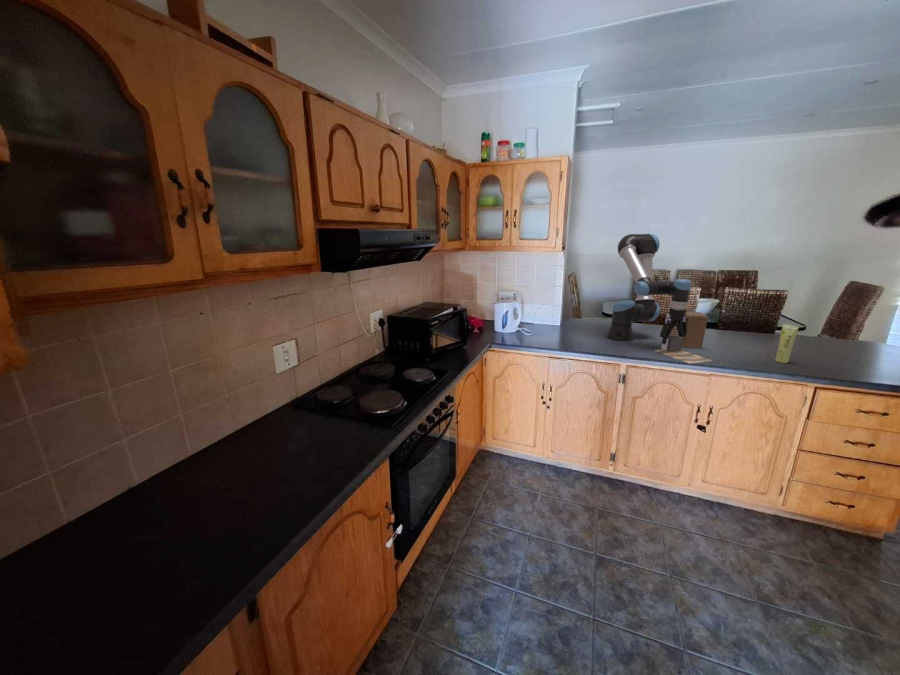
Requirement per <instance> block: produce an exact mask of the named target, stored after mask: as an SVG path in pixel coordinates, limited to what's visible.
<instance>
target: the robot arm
mask: <svg viewBox="0 0 900 675" xmlns="http://www.w3.org/2000/svg"><path fill="white" fill-rule="evenodd" d="M659 250H660V239H659V238H658V236H657V235H656V234H654V233H652V234H651V233H637V234H635V233H634V234H633V233H629V234H627V235H625V236H623V237H622V238H621V239H620V241H619V242H618V245H617V253H618V254H619V257H620V258H622V259H623V261H624V262H625V265H626V266H627V269H628V270H629V272H630V274H631V276H632V279H633V280H634V282H635V284H634V285H633V289H634V290H633V291H634V293H635V294H636V298H635V299H634V300H628V299H627V300H619V301H616V302H614V304H613V308H612V314H611V322H610V326H609V328H608V330H607V331H606V337H607V338H608V339H610V340H614V341H618V342H619V341H622V342H625V341H626V342H627V341H628V342H629V341H632V340H633V339H634V334H633V329H632V325H633V322H636V323H637V322H644V323H645V322H647V323H648V322H653V321H655V320H657V318H658V317H659V315H660V311H661V307H660V304H659V303H658V302H656V298H654V297H653V296H671V298H670V299H671V300H670V306H669V307H670V309H669V311H668V314H669V315H670V318H669V319H668V320H667V319H666V318H665V319H664V321H663V326H662V328H661V330H660V331H661V332H660V334H659V337H660V338H662V340H661V347H662V348H661V347H660V350H661V349H663V350H667V345H668V340H669V339H668V336H669V334H670V333H671V331H672V329H673V328H674V327H675V326H677V330H678V335H679V336H677V337H680V338H683V337H685V335H687V321H688V319H687V318H683V317H685V314H686V312H687V310H686V309H687V307H688V301H689V297H690V294H691V286H692V281H691V280H690V279H683V278H677V279H675V280H674V281H672V280H666V279H664V280H663V279H662V280H659V281H658V280H657V281H656V280H653V258H654V257H655V256H656V253H657V252H658V251H659Z"/></svg>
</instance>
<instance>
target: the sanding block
mask: <svg viewBox="0 0 900 675" xmlns="http://www.w3.org/2000/svg"><path fill="white" fill-rule="evenodd" d="M668 339H669V340H668V345H667V350H663V349H661V348H662V346H661V347H660V350H662V351H665V352H667V353H678V352H680V351H681V350H682V346H681V345H682V340H683V338H680V337H677V336H674V335H672V336H668Z"/></svg>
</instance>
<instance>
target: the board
mask: <svg viewBox="0 0 900 675" xmlns="http://www.w3.org/2000/svg"><path fill="white" fill-rule="evenodd" d="M653 351H655V352H656V353H659V354H663V355H665V356H668V357H670V358H673V359H675V360H678V361H681V362H684V363H687V364H689V365H691V364H696V363H697V364H698V363H704V362H712V359H709V358H706V357H703V356H700V355H697V354H694V353H691V352H689V351H687V350H686V351H685V350H682V349H681V351H680V352H678V353H667V352H665V351H662V350H661V349H654V350H653Z"/></svg>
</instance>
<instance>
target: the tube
mask: <svg viewBox="0 0 900 675" xmlns="http://www.w3.org/2000/svg"><path fill="white" fill-rule="evenodd" d="M781 327H782V328H781V334H780V337H779V343H778V347H777V351H776V355H775V362H778V363H782V364H787V363H789V362H790V357H791V354H792V349H793V347H794V343H795V340H796V337H797V334H798V331H799V328H800V326H798V325H793V324H788V323H782V326H781Z"/></svg>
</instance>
